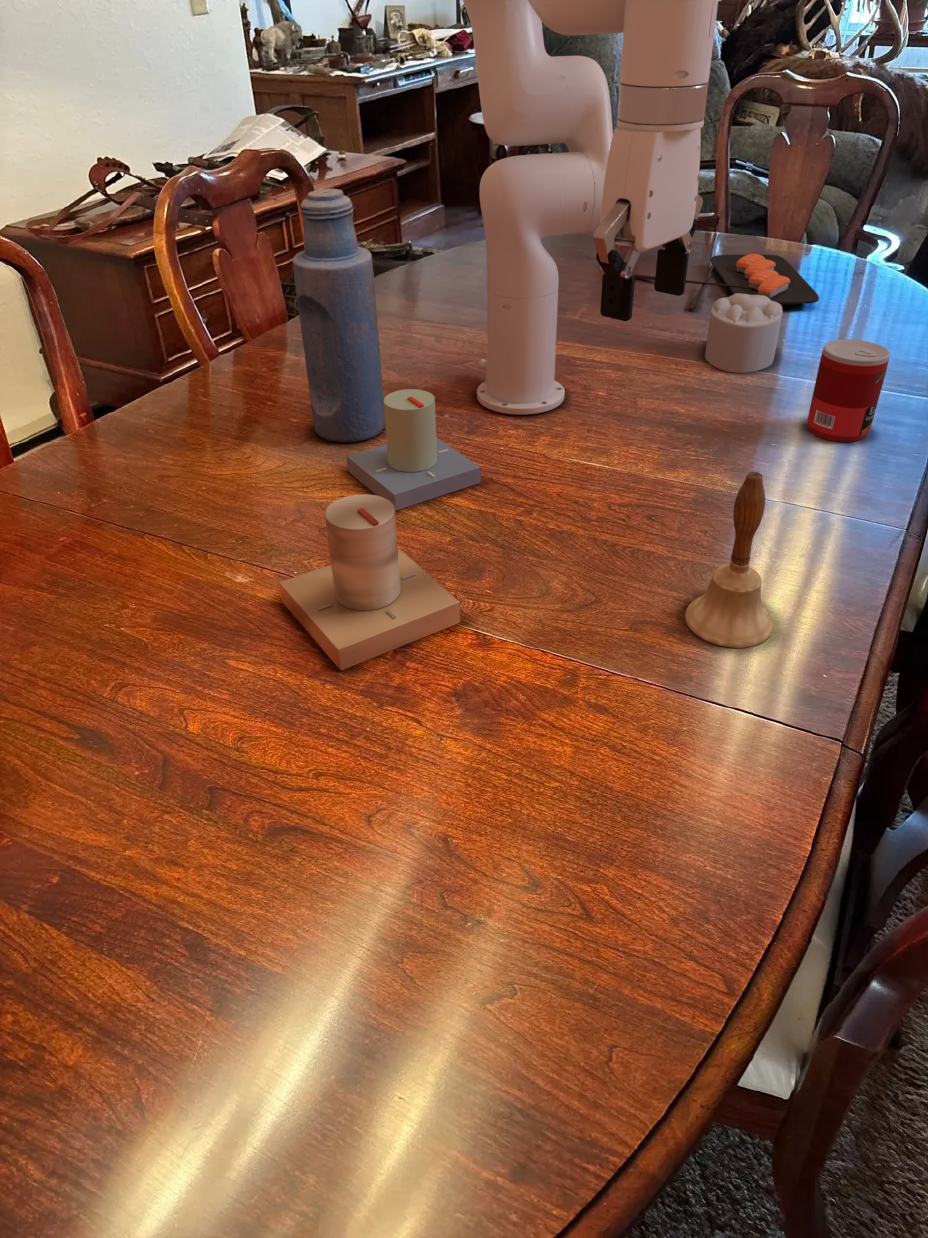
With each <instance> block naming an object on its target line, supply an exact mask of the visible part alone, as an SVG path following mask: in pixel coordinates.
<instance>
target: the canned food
mask: <svg viewBox="0 0 928 1238" xmlns="http://www.w3.org/2000/svg"><path fill="white" fill-rule="evenodd" d="M890 354H891V353H890V350H889V349H888V348H886V347H885V346H883V345H880V344H878V343H876V342H871V341H867V340H862V339H836V340H832V341H831V340H830V341H828V342H827V343H825V344H824V345H823V348H822V352H821V354H820V355H821V356H820V360H819V364H818V368H817V374H816V378H815V383H814V388H813V392H812V395H811V396H812V397H811V402H810V407H809V410H808V415H807V420H806V422H807V428H808V430H809V432H810V433H812V434H813V435H814V436H817V437H818V438H821V439H824V440H827V441H832V442H838V443H839V442H841V443H851V442H858V441H861V440H863V439H864V438H866V437H867V435H868V434H869V433H870V431H871V429H872V425H873V422H874V418H875V414H876V410H877V407H878V403H879V398H880V395H881V392H882V388H883V384H884V381H885V378H886V373H887V369H888V365H889V362H890V356H891V355H890Z"/></svg>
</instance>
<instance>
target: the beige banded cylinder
mask: <svg viewBox="0 0 928 1238" xmlns="http://www.w3.org/2000/svg"><path fill="white" fill-rule="evenodd" d="M324 520H325V528H326V535H327V544H328V551H329V559H330V560H329V561H330V565H331V568H332V576H333V584H334V593H335V597H336V599H337V601H338V602H339V603H340V604H341V605H343V606H345V607H347V608H350V609H354V610H362V611H363V610H375V609H379V608H382V607H385V606H387V605H389V604H391V603H392V602H394V601H395V600H396V599H397V598H398V596H399V594H400V590H401V589H400V575H399V561H398V548H399V547H398V535H397V520H396V511H395V508H394V505H393V504H392V503H391V502H390V501H389V500H387V499H385V498H383V497H380V496H377V495H376V494H366V493H365V494H363V493H360V494H352V495H347V496H344V497H341V498H338V499H336V500H335V501H333V502H331V503H330V504H329V505H328V506H327V507H326V509H325V511H324Z"/></svg>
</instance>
